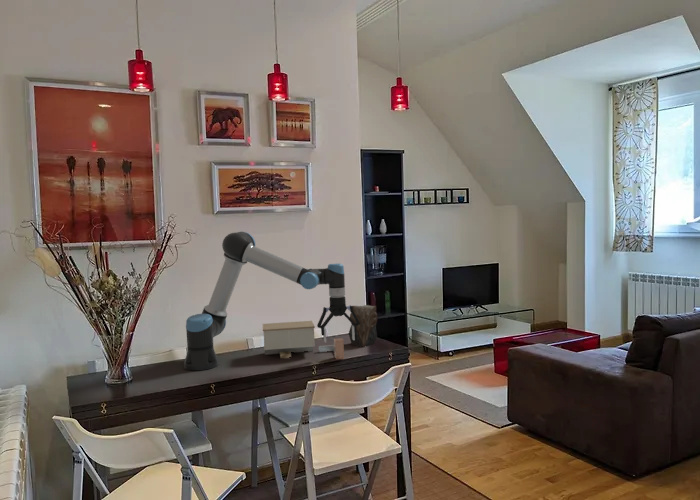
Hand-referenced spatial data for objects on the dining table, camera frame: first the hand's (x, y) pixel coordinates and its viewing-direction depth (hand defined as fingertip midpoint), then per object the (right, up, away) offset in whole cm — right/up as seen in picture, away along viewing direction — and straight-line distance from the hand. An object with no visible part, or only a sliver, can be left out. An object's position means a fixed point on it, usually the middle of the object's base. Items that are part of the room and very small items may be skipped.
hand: (339, 340), depth 256 cm
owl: (+12, -6, +27) cm, 30 cm away
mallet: (-4, -8, +6) cm, 11 cm away
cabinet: (-25, -9, +10) cm, 28 cm away
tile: (-26, -9, +6) cm, 28 cm away
